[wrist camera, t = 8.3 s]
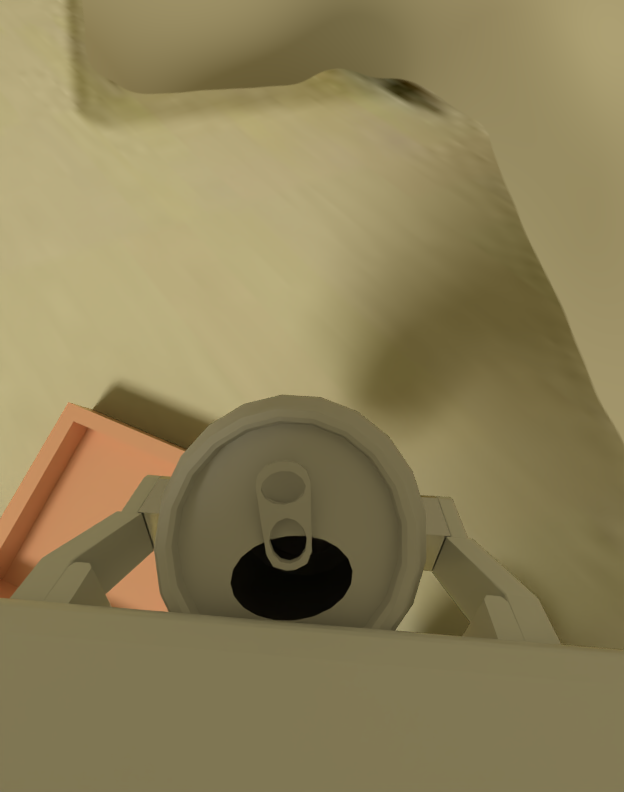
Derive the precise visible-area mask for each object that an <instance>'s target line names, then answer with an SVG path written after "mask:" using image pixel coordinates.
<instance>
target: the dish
mask: <svg viewBox="0 0 624 792" xmlns="http://www.w3.org/2000/svg"><path fill="white" fill-rule="evenodd" d="M186 450H187V449H185V448H182V447H180V446H178V445H175V444H173V443H170V442H168V441H166V440H163V439H161V438H159V437H156V436H154V435H151V434H149V433H147V432H144V431H142V430H140V429H137V428H135V427H132V426H130V425H128V424H125V423H123V422H121V421H118V420H116V419H113V418H111V417H109V416H106V415H104V414H102V413H99V412H97V411H94V410H92V409H89V408H86V407H82V406H79V405H76V404H73V403H69V402H68V404H67V406H66V407H65V409H64V411H63V412H62V414H61V416H60V418H59V419H58V421H57V423H56V424H55V426H54V428H53V430H52V431H51V433H50V435H49V436H48V438H47V440H46V441H45V443H44V445H43V447H42V448H41V450H40V452H39V453H38V455H37V457H36V459H35V460H34V462H33V464H32V465H31V467H30V469H29V470H28V472H27V474H26V476H25V477H24V479H23V481H22V482H21V484H20V486H19V488H18V489H17V491H16V493H15V494H14V496H13V498H12V499H11V501H10V503H9V505H8V506H7V508H6V510H5V511H4V513H3V515H2V517H1V518H0V598H10V597H11V596H12V595H13V594H14V592H15V591H16V590H17V589H18V587H19V586H20V585H21V584H22V582H23V581H24V580H25V579H26V577H27V576H28V575H29V574H30V572H31V571H32V570H33V569H34V567H35V566H36V565H37V564H38V562H39V561H40V560H41V559H42V558H43V557H44V556H46V555H47V554H49V553H51V552H52V551H54V550H55V549H57V548H59V547H60V546H62V545H63V544H65V543H67V542H68V541H70V540H72V539H73V538H75V537H76V536H78V535H80V534H81V533H83V532H84V531H86V530H88V529H89V528H91V527H92V526H94V525H96V524H97V523H99V522H101V521H102V520H104V519H105V518H107V517H109V516H110V515H112V514H113V513H115V512H117V511H122V510H123V508H124V507H125V505H126V504H127V502H128V501H129V499H130V498H131V496H132V495H133V493H134V492H135V490H136V489H137V487H138V486H139V484H140V483H141V481H142V480H143V478H144V477H145V476H147V475H157V476H169V477H171V476H172V474H173V472H174V470H175V467H176V465H177V463H178V461H179V459H180V457H181V455H182V454H183V453H184V452H185V451H186ZM153 550H154V549H153ZM106 596H107V598H108V600H109V602H110V604H111V606H112V607H117V608H129V609H141V610H153V611H165V612H168V610H167V607H166V605H165V603H164V601H163V599H162V597H161V595H160V591H159V584H158V576H157V569H156V562H155V554H154V551H153V552H152V553H151V554H149V555H148V556H147V557H146V558H145V559H144V560H143V561H142V562H141V563H140V564H138V565H137V566H136V567H135V568H134V569H133V570H132V571H131V572H130V573H129V574H127V575H126V576H125V577H124V578H123V579H122V580H121V581H120V582H119V583H117V584H116V585H115V586H114V587H113V588H112V589H111V590H110V591H109V592H108V593H106Z"/></svg>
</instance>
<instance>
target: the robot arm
mask: <svg viewBox="0 0 624 792" xmlns="http://www.w3.org/2000/svg"><path fill="white" fill-rule="evenodd" d="M170 478H171V477H169V476H157V475H147V476H145V477H144V478H143V480H142V481H141V483H140V484H139V486H138V487H137V489H136V490H135V492H134V493H133V495H132V496H131V498H130V499H129V501H128V502H127V504H126V505H125V507H124V508H123V510H122V511H117V512H115V513H113V514H112V515H110V516H109V517H107V518H105V519H104V520H102V521H101V522H99V523H97V524H96V525H94V526H92V527H91V528H89V529H88V530H86V531H84V532H83V533H81V534H80V535H78V536H76V537H75V538H73V539H72V540H70V541H68V542H67V543H65V544H63V545H62V546H60V547H59V548H57V549H55V550H54V551H52V552H51V553H49V554H47V555H46V556H44V557H43V558H42V559H41V560H40V561H39V562H38V564H37V565H36V566H35V567H34V569H33V570H32V571H31V572H30V574H29V575H28V576H27V577H26V579H25V580H24V581H23V582H22V584H21V585H20V586H19V587H18V589H17V590H16V591H15V592H14V594H13V595H12V596H11V597H10V598H0V792H624V650H621V649H609V648H597V647H585V646H573V645H561V643H560V641H559V639H558V637H557V635H556V633H555V631H554V629H553V627H552V625H551V623H550V621H549V619H548V617H547V615H546V613H545V611H544V609H543V607H542V605H541V603H540V601H539V599H538V598H537V597H536V596H535V595H534V594H533V593H532V592H531V591H530V590H529V589H527V588H526V587H525V586H524V585H523V584H522V583H521V582H520V581H519V580H518V579H516V578H515V577H514V576H513V575H512V574H511V573H510V572H509V571H508V570H507V569H505V568H504V567H503V566H502V565H501V564H500V563H499V562H498V561H497V560H496V559H494V558H493V557H492V556H491V555H490V554H489V553H488V552H487V551H486V550H485V549H483V548H482V547H481V546H480V545H479V544H478V543H477V542H476V541H475V540H474V539H471V538H468V537H467V534H466V532H465V529H464V527H463V524H462V521H461V519H460V516H459V514H458V511H457V509H456V506H455V504H454V501H453V499H452V498H451V497H440V496H426V495H420V496H421V499H422V502H423V506H424V509H425V512H426V562H425V565H424V569H423V570H425V571H433V572H432V573H433V574H434V576H435V577H436V578H437V579H438V581H439V582H440V583H441V585H442V586H443V587H444V589H445V590H446V591H447V593H448V594H449V595H450V597H451V598H452V599H453V600H454V602H455V603H456V604H457V606H458V607H459V608H460V610H461V611H462V612H463V614H464V615H465V616H466V617H467V619H468V620H469V621H470V624H469V626H468V627H467V629H466V631H465V632H464V634H463V636H453V635H441V634H429V633H417V632H405V631H393V630H381V629H369V628H357V627H345V626H333V625H321V624H309V623H298V622H285V621H273V620H261V619H249V618H237V617H225V616H213V615H201V614H189V613H177V612H165V611H153V610H141V609H129V608H117V607H112V606H111V604H110V602H109V600H108V598H107V596H106V593H108V592H109V591H110V590H111V589H112V588H113V587H114V586H115V585H116V584H117V583H119V582H120V581H121V580H122V579H123V578H124V577H125V576H126V575H127V574H129V573H130V572H131V571H132V570H133V569H134V568H135V567H136V566H137V565H138V564H140V563H141V562H142V561H143V560H144V559H145V558H146V557H147V556H148V555H149V554H151V553H152V552H153V551H154V550H153V549H154V543H155V537H156V531H157V525H158V518H159V512H160V506H161V500H162V495H163V493H164V490H165V488H166V486H167V484H168V482H169V480H170Z"/></svg>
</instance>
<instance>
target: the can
mask: <svg viewBox="0 0 624 792" xmlns="http://www.w3.org/2000/svg"><path fill="white" fill-rule="evenodd" d="M154 554H155V562H156V569H157V576H158V584H159V591H160V595H161V597H162V599H163V601H164V603H165V605H166V607H167V610H168V612H177V613H189V614H201V615H213V616H225V617H237V618H249V619H261V620H273V621H285V622H298V623H309V624H321V625H333V626H345V627H357V628H369V629H381V630H393V631H395V630H396V628H397V627H398V625H399V624H400V622H401V621H402V619H403V618H404V616H405V615H406V614H407V612H408V611H409V609H410V608H411V606H412V605H413V603H414V599H415V596H416V592H417V589H418V586H419V582H420V579H421V576H422V572H423V569H424V565H425V562H426V512H425V509H424V506H423V502H422V499H421V496H420V493H419V490H418V487H417V483H416V480H415V477H414V474H413V471H412V470H411V468H410V467H409V465H408V464H407V462H406V461H405V459H404V458H403V456H402V455H401V453H400V452H399V451H398V449H397V448H396V446H395V445H394V443H393V442H392V440H391V439H390V437H389V436H388V435H386V434H385V433H384V432H383V431H381V430H380V429H379V428H378V427H376V426H375V425H374V424H373V423H371V422H370V421H369V420H367V419H366V418H365V417H364V416H362V415H361V414H360V413H359V412H357V411H355V410H352V409H350V408H347V407H345V406H342V405H340V404H337V403H334V402H332V401H329V400H327V399H324V398H321V397H310V396H294V395H279V396H275V397H271V398H267V399H263V400H258V401H254V402H250V403H246V404H243V405H241V406H240V407H238V408H236V409H235V410H233V411H231V412H230V413H228V414H226V415H225V416H223V417H221V418H220V419H218V420H217V421H215V422H213V423H212V424H210V425H209V426H208V427H207V428H206V429H205V430H204V431H203V432H202V433H201V434H200V436H199V437H198V438H197V439H196V440H195V441H194V442H193V443H192V444H191V445H190V447H189V448H188V449H187V450H186V451H185V452H184V453H183V454H182V455H181V457H180V459H179V461H178V463H177V465H176V467H175V470H174V472H173V474H172V476H171V478H170V480H169V482H168V484H167V486H166V488H165V490H164V493H163V495H162V500H161V506H160V512H159V518H158V525H157V531H156V537H155V543H154Z"/></svg>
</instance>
